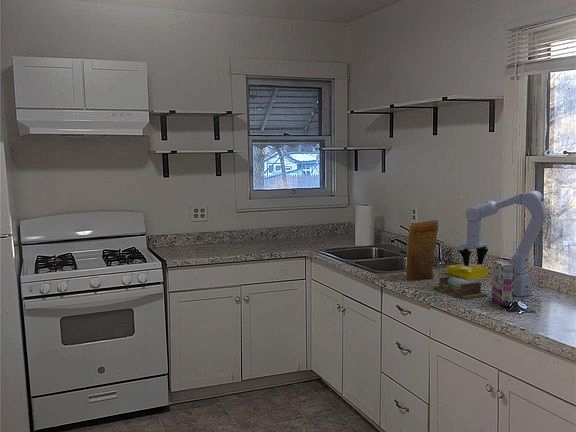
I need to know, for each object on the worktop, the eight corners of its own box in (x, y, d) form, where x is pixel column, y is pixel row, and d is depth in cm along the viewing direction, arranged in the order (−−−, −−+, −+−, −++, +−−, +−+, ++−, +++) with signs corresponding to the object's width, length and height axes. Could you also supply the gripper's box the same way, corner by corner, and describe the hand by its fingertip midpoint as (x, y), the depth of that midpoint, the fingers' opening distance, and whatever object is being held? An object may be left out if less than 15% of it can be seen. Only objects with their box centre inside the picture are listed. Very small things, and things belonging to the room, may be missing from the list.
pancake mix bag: (441, 278, 275) (442, 220, 272) (409, 282, 267) (410, 222, 264) (432, 275, 281) (433, 219, 278) (400, 279, 273) (401, 221, 270)
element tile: (489, 276, 280) (490, 266, 280) (468, 280, 272) (469, 270, 272) (465, 271, 293) (465, 261, 292) (444, 274, 285) (444, 265, 284)
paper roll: (472, 292, 243) (472, 280, 242) (462, 293, 241) (463, 282, 241) (456, 287, 252) (456, 276, 252) (447, 288, 250) (447, 277, 250)
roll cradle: (486, 296, 240) (487, 283, 239) (463, 299, 235) (464, 286, 235) (455, 286, 258) (456, 274, 258) (433, 289, 254) (433, 276, 253)
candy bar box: (513, 307, 223) (514, 265, 222) (500, 307, 223) (501, 265, 222) (503, 299, 234) (504, 260, 233) (491, 299, 235) (492, 260, 233)
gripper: (480, 232, 260) (479, 262, 261) (454, 234, 254) (454, 264, 256) (491, 234, 253) (490, 264, 255) (465, 236, 248) (464, 267, 249)
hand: (473, 264), depth 255 cm, fingers open, 7 cm apart
